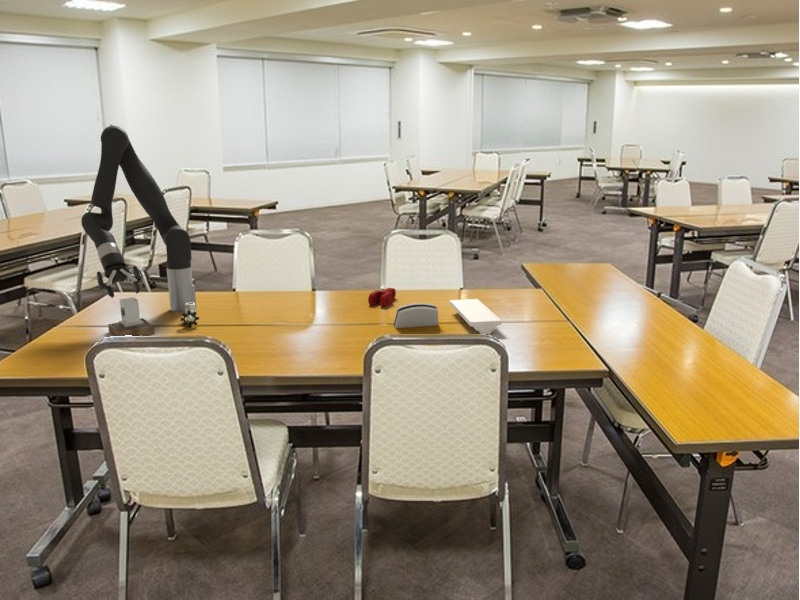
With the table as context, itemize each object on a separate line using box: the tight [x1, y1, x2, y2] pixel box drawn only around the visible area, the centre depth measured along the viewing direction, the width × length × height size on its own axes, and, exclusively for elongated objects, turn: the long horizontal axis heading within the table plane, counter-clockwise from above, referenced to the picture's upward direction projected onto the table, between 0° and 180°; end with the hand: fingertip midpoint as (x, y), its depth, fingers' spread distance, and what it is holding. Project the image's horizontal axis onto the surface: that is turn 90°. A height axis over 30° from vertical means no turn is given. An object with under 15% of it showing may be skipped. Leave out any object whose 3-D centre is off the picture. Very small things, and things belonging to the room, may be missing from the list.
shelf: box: [449, 298, 502, 336], centre depth 242 cm, size 12×30×5 cm, turn 10°
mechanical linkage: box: [367, 287, 397, 308], centre depth 270 cm, size 16×7×5 cm, turn 154°
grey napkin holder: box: [393, 302, 439, 329], centre depth 237 cm, size 17×5×10 cm, turn 102°
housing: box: [118, 296, 144, 328], centre depth 227 cm, size 6×6×9 cm
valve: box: [179, 302, 200, 329], centre depth 240 cm, size 7×7×12 cm
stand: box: [107, 317, 155, 337], centre depth 228 cm, size 12×12×3 cm
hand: (125, 294), depth 228 cm, fingers open, 8 cm apart
